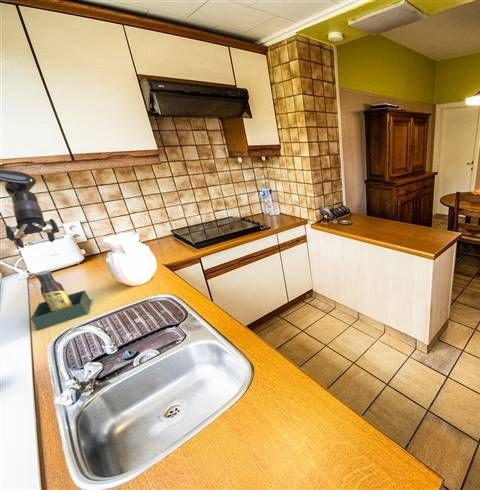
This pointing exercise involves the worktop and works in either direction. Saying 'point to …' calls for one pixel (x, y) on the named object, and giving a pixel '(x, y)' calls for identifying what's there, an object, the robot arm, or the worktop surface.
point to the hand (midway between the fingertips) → (36, 244)
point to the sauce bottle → (53, 292)
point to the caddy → (61, 311)
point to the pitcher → (129, 259)
